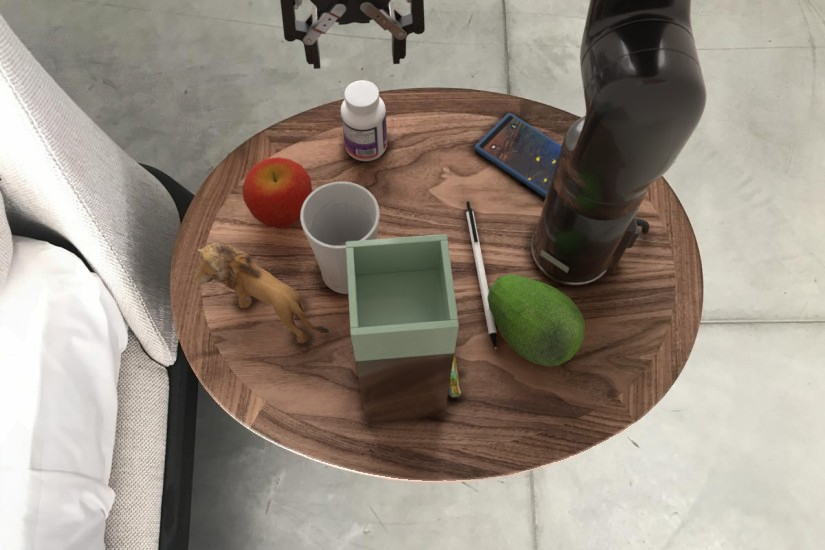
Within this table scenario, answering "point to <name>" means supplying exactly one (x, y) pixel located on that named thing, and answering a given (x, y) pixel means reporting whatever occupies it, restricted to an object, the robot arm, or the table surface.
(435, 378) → the green open-top box
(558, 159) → the robot arm
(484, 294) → the pen
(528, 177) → the smartphone
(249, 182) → the apple
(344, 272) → the cup
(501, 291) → the fruit
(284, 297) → the lion figurine
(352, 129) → the pill bottle
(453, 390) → the pencil
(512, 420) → the table surface
